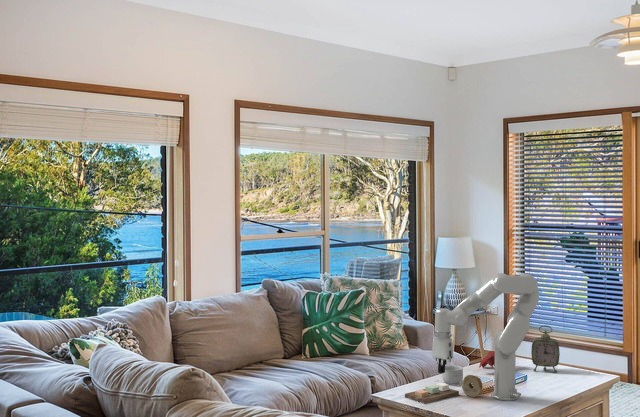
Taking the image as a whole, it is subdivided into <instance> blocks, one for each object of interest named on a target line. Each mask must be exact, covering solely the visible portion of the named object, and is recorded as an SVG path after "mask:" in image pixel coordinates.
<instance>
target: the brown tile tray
mask: <svg viewBox="0 0 640 417" xmlns="http://www.w3.org/2000/svg"><path fill="white" fill-rule="evenodd" d="M422 390H425V388H424V389H422ZM415 391H416V390H414V391H411V392H405V393H404V398H406V399H408V400H411V401H415V402H417V401H418V402H417V403H420V402H421V404H423V403H424V404H427V402H428V403H432V402H437V401H440V400H444V399H447V398H451V397H456V396H460V391H459V390H456V389H452V388H450V387H449V390H446V391H440V390H439V392H438V393H434V394H431V393H428V396H424V397H420V396H417V395H415ZM431 401H432V402H431Z"/></svg>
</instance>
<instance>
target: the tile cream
mask: <svg viewBox="0 0 640 417" xmlns="http://www.w3.org/2000/svg"><path fill="white" fill-rule="evenodd" d="M435 386H437V387H439V390H440V391H446V390H449V388H450V384H447V383H446V382H439V383H435Z"/></svg>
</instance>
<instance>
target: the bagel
mask: <svg viewBox="0 0 640 417" xmlns="http://www.w3.org/2000/svg"><path fill="white" fill-rule="evenodd" d="M461 389H462V391H463V393H464V394H465V395H466V396H469V397H470V398H471V397H472V398H476V397H479V396H480V395H481V394H482V393H483V389H484V388H483V382H482V380H481V378H480V377H479V376H477V375H473V374H468V375H465V376H464V377H463V379H462V384H461Z"/></svg>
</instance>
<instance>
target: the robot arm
mask: <svg viewBox="0 0 640 417" xmlns="http://www.w3.org/2000/svg"><path fill="white" fill-rule="evenodd" d="M502 294H507V295H508V294H509V295H519V298H518V300H517V302H516V304H515V306H514V307H513V308H512V310H511V312H510V313H509V315H508V316H507V318H506V322H507V324H506V326H505V328H504V329H501V330H499V331H498V332H496V334H495V336H494V344H493V345H494V351H495V366H494V368H495V369H494V375H493V377H494V378H493V380H494V382H493V383H494V385H493V387H494V388H493V389H494V390H493V391H491V393H490V397H492V398H493V399H496V400H499V401H507V402H508V401H516V400H518V399H519V398H521V396H522V392H518V388H516V358H517V357H516V351H517V350H518V349H519V347H520V346H521V344H522V342H523V340H525V337H526V336H527V334H528V332H529V329H530V328H531V327H530V326H531V323H530V319H531V316H533V314H534V312H535V309H536V308H537V305H538V304H539V300H540V290H539V285H538V281H537V279H536V278H535V277H534V276H533V275H532V274H529V273H522V274H520V275H509V274H506V273H503V272H498V273H496V274H495V275H493V276H491V278H489V279H488V281H486V282H485V283H484V284H483V285H482V286H480V287H479V288H478V289H477V290H475V291H474V292H472V293H471V294H470V295H469V296H467V297H466V298H465V299H464V300H462V301H461V302H460V303H459V304H458V305H457V306H455V307H454V308H453V309H452V310H450V309H449V308H442V307H441V308H436V310H435V314H434V336H433V338H432V339H433V340H432V347H431V354H432V358H433V359H434V360H435V361H436V365H437V373H438V374H442V373H445V366H447V364H448V363H449V364H450V363H451V362H452V359H454V344H453V338H452V335H453V334H452V333H451V331H452V330H451V329H452V326H456V327H463V326H465V325H466V324H467V323H468V321H469V320H468V318H469V317H470V316H471V315H473V314H474V312H476V311H478V310H479V309H481V308H485V307H487V306H489V305H490V304H491V303H492V302H493V301H494V300H496V299H497V298H498V297H500V295H502Z"/></svg>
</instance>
